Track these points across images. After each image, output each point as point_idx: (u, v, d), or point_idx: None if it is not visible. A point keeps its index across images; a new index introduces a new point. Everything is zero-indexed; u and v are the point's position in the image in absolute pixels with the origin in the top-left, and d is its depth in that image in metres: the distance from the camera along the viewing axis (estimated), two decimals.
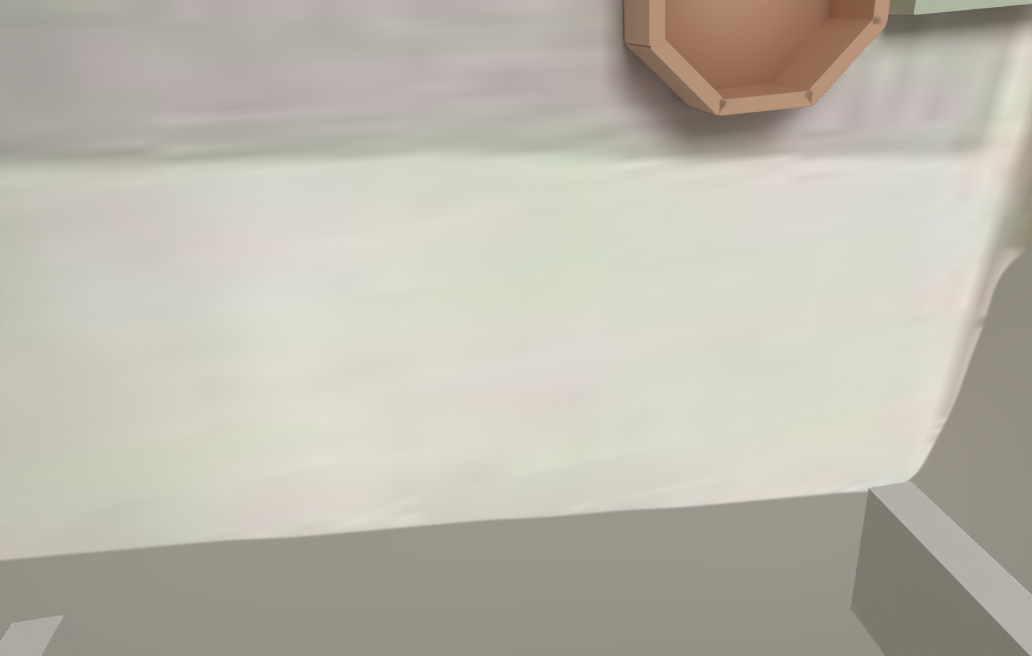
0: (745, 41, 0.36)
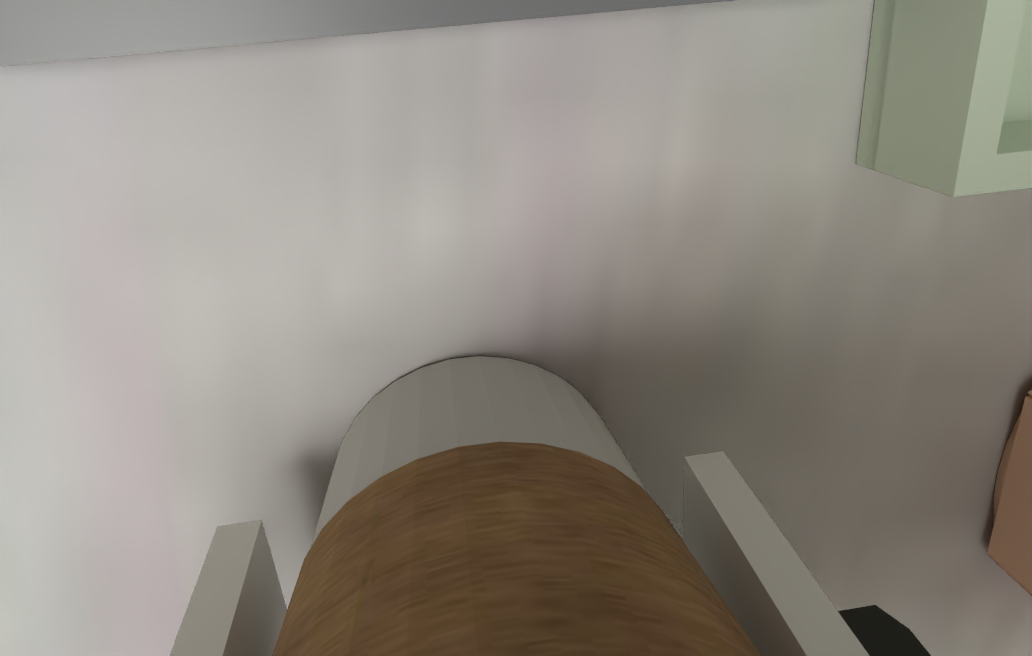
0: None
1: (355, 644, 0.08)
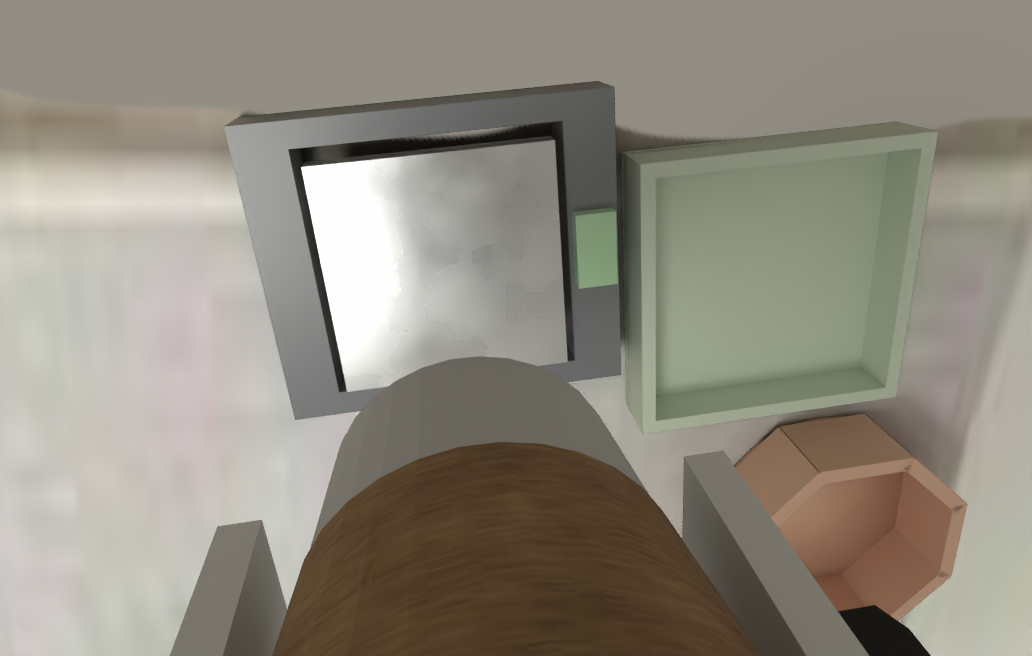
0: (863, 495, 0.39)
1: (355, 645, 0.08)
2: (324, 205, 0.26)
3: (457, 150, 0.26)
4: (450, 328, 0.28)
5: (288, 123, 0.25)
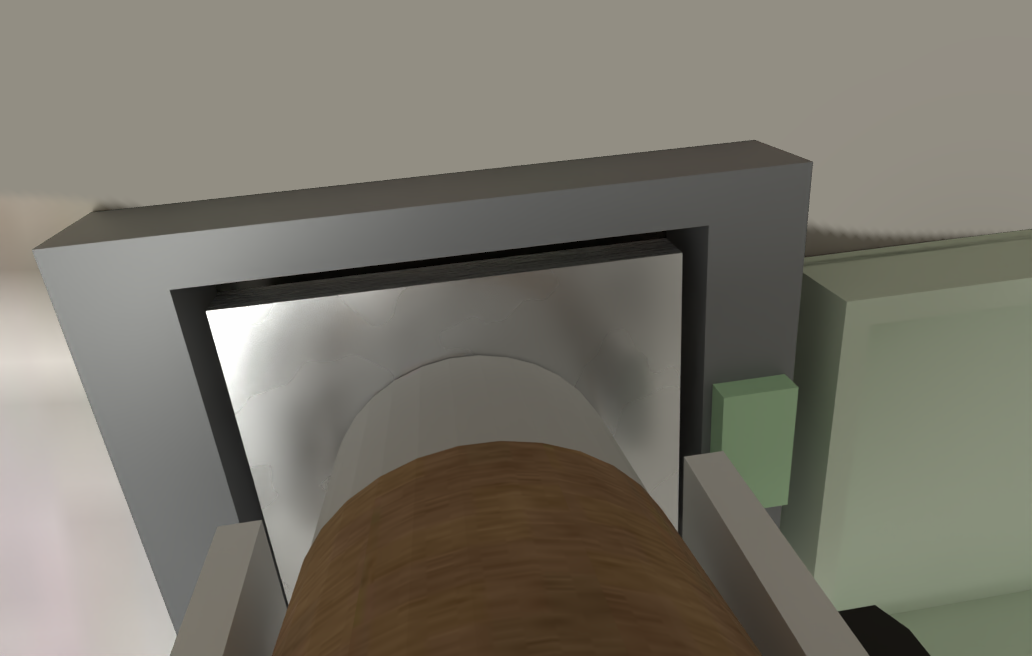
0: None
1: (355, 644, 0.08)
2: (252, 376, 0.14)
3: (502, 273, 0.14)
4: None
5: (167, 241, 0.12)
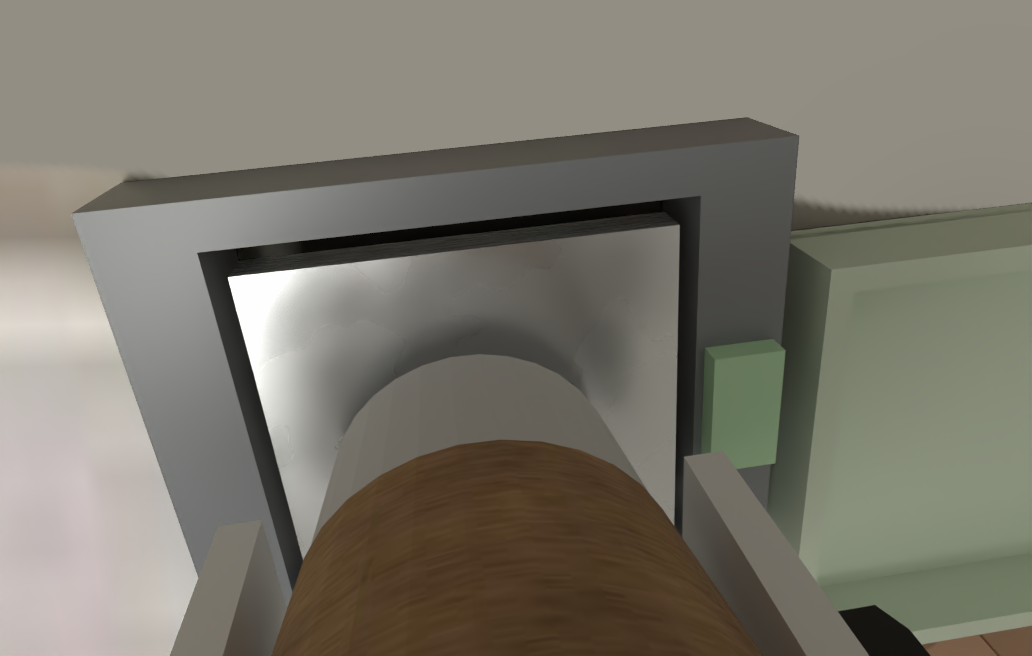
0: None
1: (356, 642, 0.08)
2: (271, 340, 0.15)
3: (508, 243, 0.14)
4: None
5: (195, 206, 0.13)
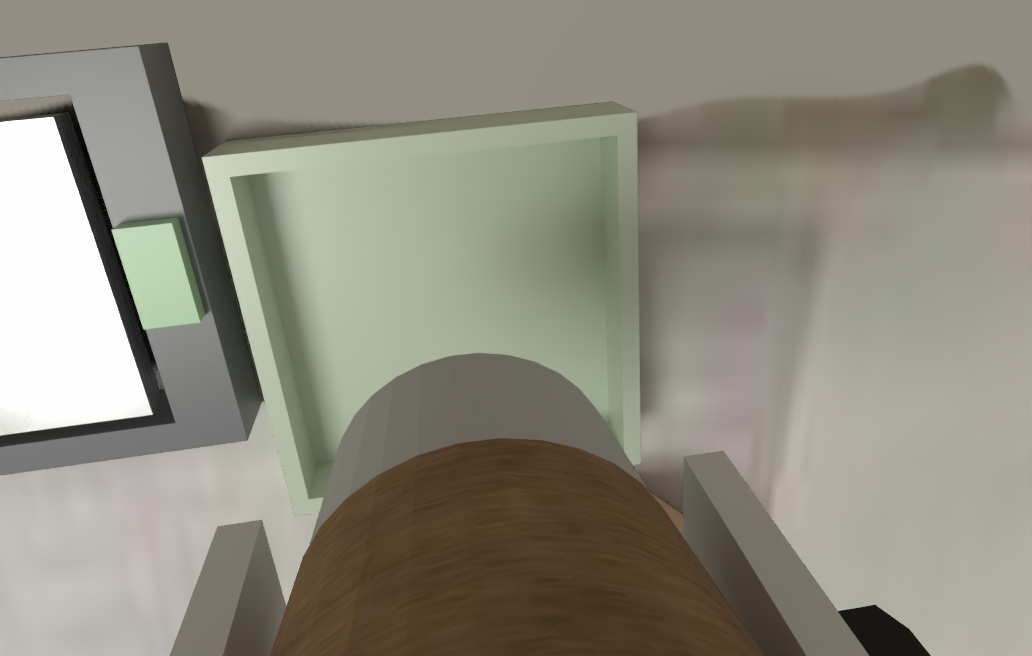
0: None
1: (354, 641, 0.07)
2: None
3: None
4: None
5: None
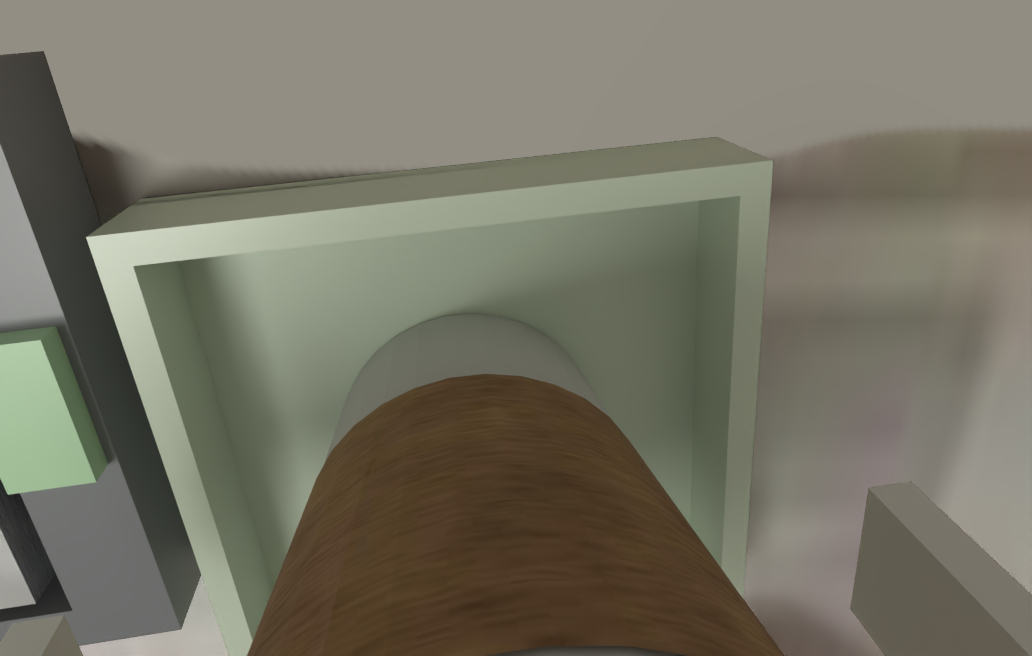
0: None
1: (360, 512, 0.09)
2: None
3: None
4: None
5: None
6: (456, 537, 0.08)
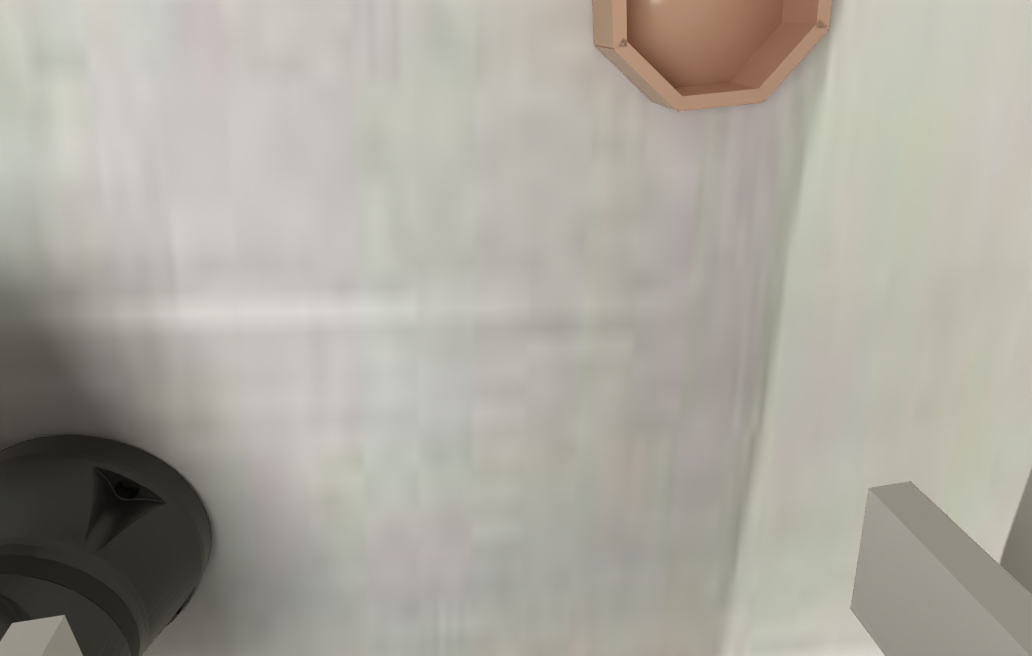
0: None
1: None
2: None
3: None
4: None
5: None
6: None
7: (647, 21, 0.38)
